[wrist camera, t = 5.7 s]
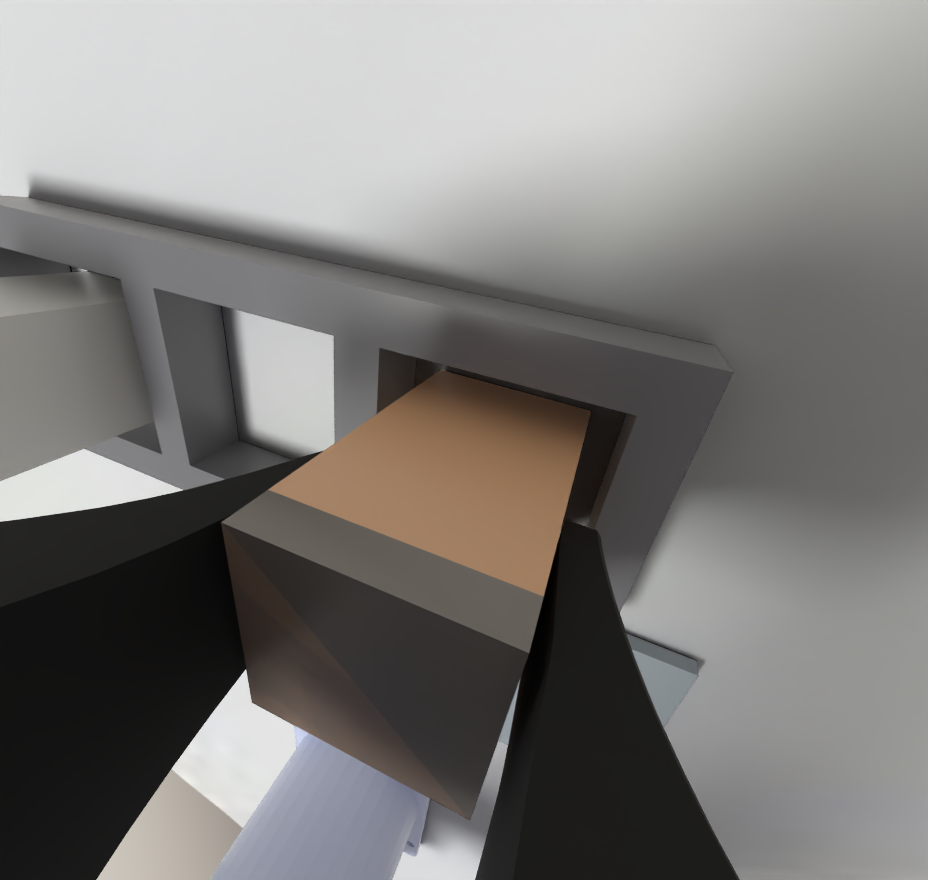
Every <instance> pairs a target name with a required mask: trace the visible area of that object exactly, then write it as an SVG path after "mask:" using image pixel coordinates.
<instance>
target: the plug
mask: <svg viewBox="0 0 928 880" xmlns="http://www.w3.org/2000/svg"><path fill="white" fill-rule="evenodd" d="M590 414H591V411H589V410H586V409H582V408H578V407H575V406H571V405H568V404H564V403H560V402H557V401H553V400H549V399H546V398H542V397H538V396H535V395H531V394H527V393H524V392H520V391H516V390H513V389H509V388H505V387H502V386H498V385H494V384H491V383H487V382H483V381H480V380H476V379H472V378H469V377H465V376H461V375H458V374H454V373H450V372H447V371H443V370H439V371H438V372H437V373H435V374H434V375H432V376H431V377H429V378H428V379H426V380H425V381H424V382H422V383H421V384H419V385H418V386H416V387H415V388H414V389H412V390H411V391H409V392H408V393H406V394H405V395H403V396H402V397H401V398H399V399H398V400H396V401H395V402H393V403H392V404H391V405H389V406H388V407H386V408H385V409H383V410H382V411H380V412H379V413H378V414H376V415H375V416H373V417H372V418H370V419H369V420H368V421H366V422H365V423H363V424H362V425H360V426H359V427H358V428H356V429H355V430H353V431H352V432H350V433H349V434H347V435H346V436H345V437H343V438H342V439H340V440H339V441H337V442H336V443H335V444H333V445H332V446H330V447H329V448H327V449H326V450H324V451H323V452H322V453H320V454H319V455H317V456H316V457H314V458H313V459H312V460H310V461H309V462H307V463H306V464H304V465H303V466H301V467H300V468H299V469H297V470H296V471H294V472H293V473H291V474H290V475H289V476H287V477H286V478H284V479H283V480H281V481H280V482H278V483H277V484H276V485H274V486H273V487H271V488H270V489H268V490H267V491H266V492H264V493H263V494H261V495H260V496H258V497H257V498H256V499H254V500H253V501H251V502H250V503H248V504H247V505H245V506H244V507H243V508H241V509H240V510H238V511H237V512H235V513H234V514H233V515H231V516H230V517H228V518H227V519H225V520H224V521H222V522H221V524H222V530H223V536H224V542H225V548H226V553H227V559H228V565H229V571H230V577H231V583H232V588H233V594H234V600H235V606H236V612H237V618H238V623H239V629H240V635H241V641H242V647H243V653H244V659H245V664H246V670H247V676H248V682H249V688H250V694H251V699H252V703H254V704H256V705H257V706H259V707H261V708H263V709H265V710H267V711H269V712H270V713H272V714H274V715H276V716H278V717H280V718H282V719H283V720H285V721H287V722H289V723H291V724H293V725H294V726H296V727H298V728H300V729H302V730H304V731H306V732H307V733H309V734H311V735H313V736H315V737H317V738H319V739H320V740H322V741H324V742H326V743H328V744H330V745H331V746H333V747H335V748H337V749H339V750H341V751H343V752H344V753H346V754H348V755H350V756H352V757H354V758H355V759H357V760H359V761H361V762H363V763H365V764H367V765H368V766H370V767H372V768H374V769H376V770H378V771H380V772H381V773H383V774H385V775H387V776H389V777H391V778H392V779H394V780H396V781H398V782H400V783H402V784H404V785H405V786H407V787H409V788H411V789H413V790H415V791H417V792H418V793H420V794H422V795H424V796H426V797H428V798H429V799H431V800H433V801H435V802H437V803H439V804H441V805H442V806H444V807H446V808H448V809H450V810H452V811H454V812H455V813H457V814H459V815H461V816H463V817H465V818H466V819H468V820H470V819H471V816H472V813H473V810H474V807H475V805H476V802H477V799H478V796H479V793H480V790H481V788H482V785H483V782H484V779H485V776H486V774H487V771H488V768H489V765H490V762H491V759H492V757H493V754H494V751H495V748H496V745H497V742H498V740H499V737H500V734H501V731H502V728H503V726H504V723H505V720H506V717H507V714H508V711H509V709H510V706H511V703H512V700H513V697H514V695H515V692H516V689H517V686H518V683H519V680H520V678H521V675H522V672H523V669H524V666H525V663H526V661H527V658H528V655H529V652H530V648H531V644H532V640H533V636H534V632H535V628H536V625H537V621H538V617H539V613H540V609H541V605H542V601H543V597H544V593H545V590H546V586H547V582H548V578H549V574H550V570H551V566H552V562H553V558H554V554H555V551H556V547H557V543H558V539H559V535H560V531H561V527H562V523H563V519H564V515H565V512H566V508H567V504H568V500H569V496H570V492H571V488H572V484H573V480H574V476H575V473H576V469H577V465H578V461H579V457H580V453H581V449H582V445H583V441H584V438H585V434H586V430H587V426H588V422H589V418H590Z"/></svg>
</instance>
